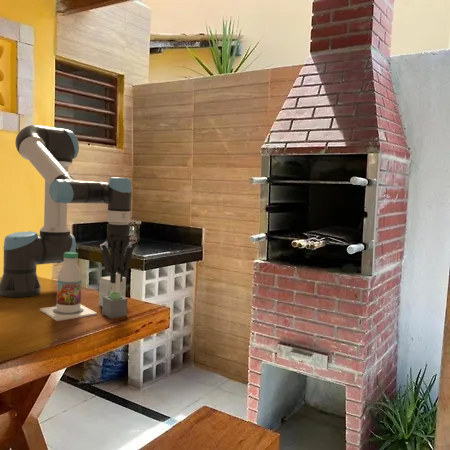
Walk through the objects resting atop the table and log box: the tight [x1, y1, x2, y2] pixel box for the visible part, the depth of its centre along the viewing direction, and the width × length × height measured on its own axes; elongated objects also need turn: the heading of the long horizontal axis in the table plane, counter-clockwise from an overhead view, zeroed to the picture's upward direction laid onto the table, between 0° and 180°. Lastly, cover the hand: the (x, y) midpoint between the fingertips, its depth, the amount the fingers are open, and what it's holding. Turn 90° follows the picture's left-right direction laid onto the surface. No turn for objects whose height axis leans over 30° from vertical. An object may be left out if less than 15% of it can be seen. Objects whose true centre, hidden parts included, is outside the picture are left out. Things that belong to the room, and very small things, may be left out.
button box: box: [101, 296, 128, 319], centre depth 158 cm, size 6×6×6 cm
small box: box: [98, 275, 127, 308], centre depth 169 cm, size 8×6×10 cm
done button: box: [110, 292, 121, 300], centre depth 158 cm, size 4×4×5 cm
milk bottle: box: [56, 251, 82, 313], centre depth 156 cm, size 8×8×20 cm
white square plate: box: [39, 303, 98, 322], centre depth 157 cm, size 14×14×1 cm
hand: (115, 292), depth 157 cm, fingers closed
